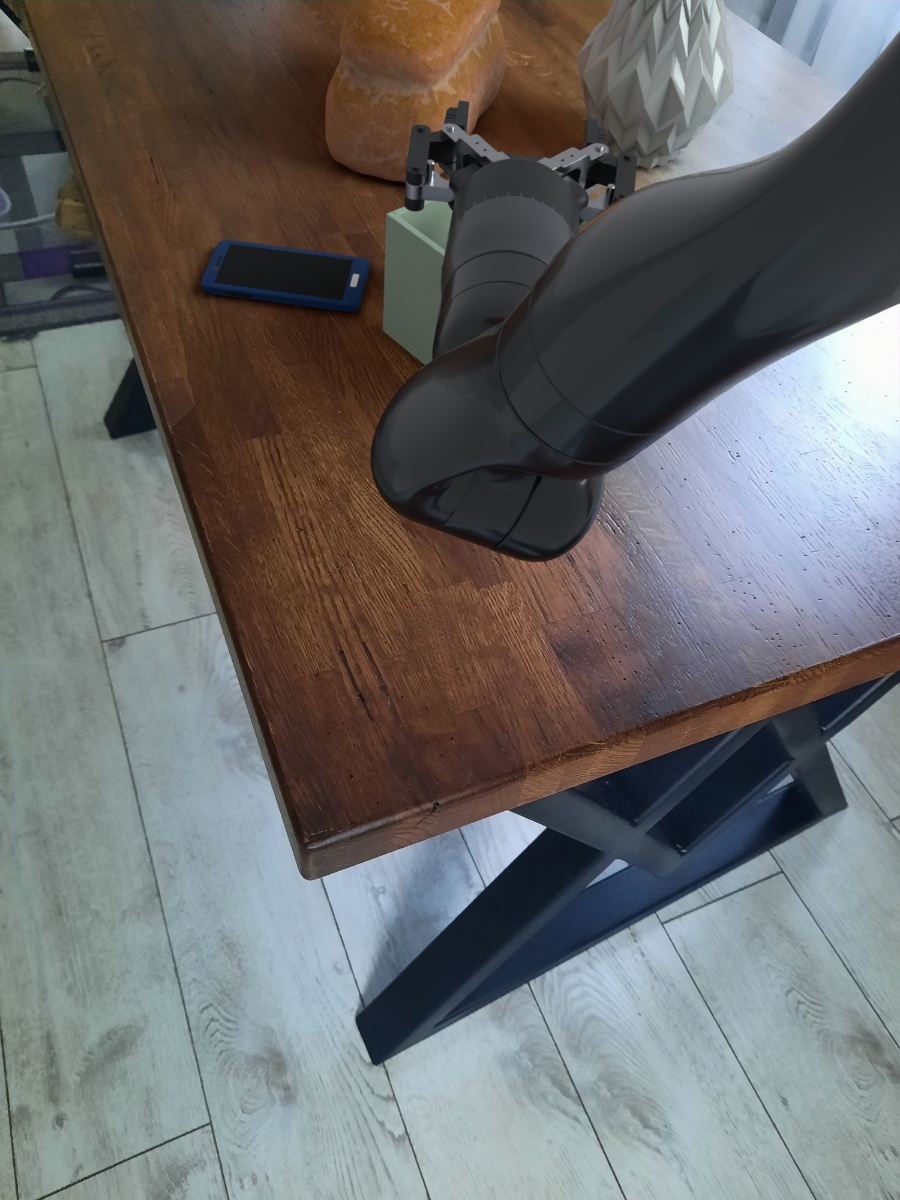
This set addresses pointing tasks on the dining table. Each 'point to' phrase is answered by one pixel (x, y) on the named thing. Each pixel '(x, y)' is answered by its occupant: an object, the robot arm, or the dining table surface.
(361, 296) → the cell phone
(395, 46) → the bread
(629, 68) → the vase
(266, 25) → the dining table surface
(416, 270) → the open storage box
